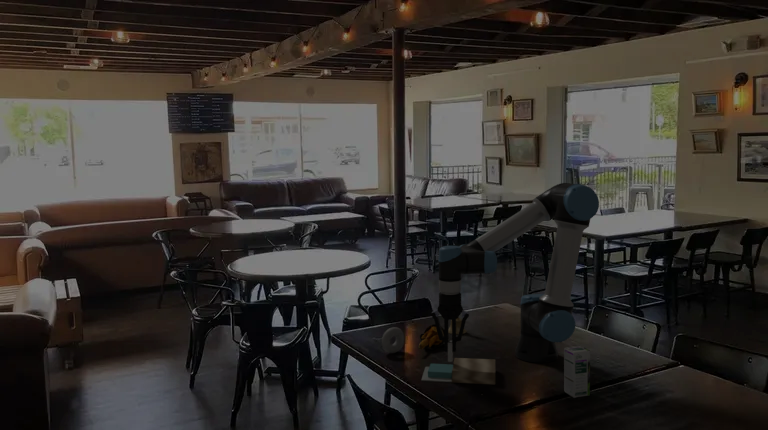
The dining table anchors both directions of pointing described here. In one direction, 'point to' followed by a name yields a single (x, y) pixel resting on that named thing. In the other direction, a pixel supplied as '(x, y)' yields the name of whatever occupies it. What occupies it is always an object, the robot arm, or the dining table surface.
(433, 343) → the fried shrimp in bowl
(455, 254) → the robot arm
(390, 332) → the donut
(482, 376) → the serving board
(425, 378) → the mat
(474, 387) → the dining table surface
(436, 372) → the teal block
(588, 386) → the syrup box
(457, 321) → the hand bell
